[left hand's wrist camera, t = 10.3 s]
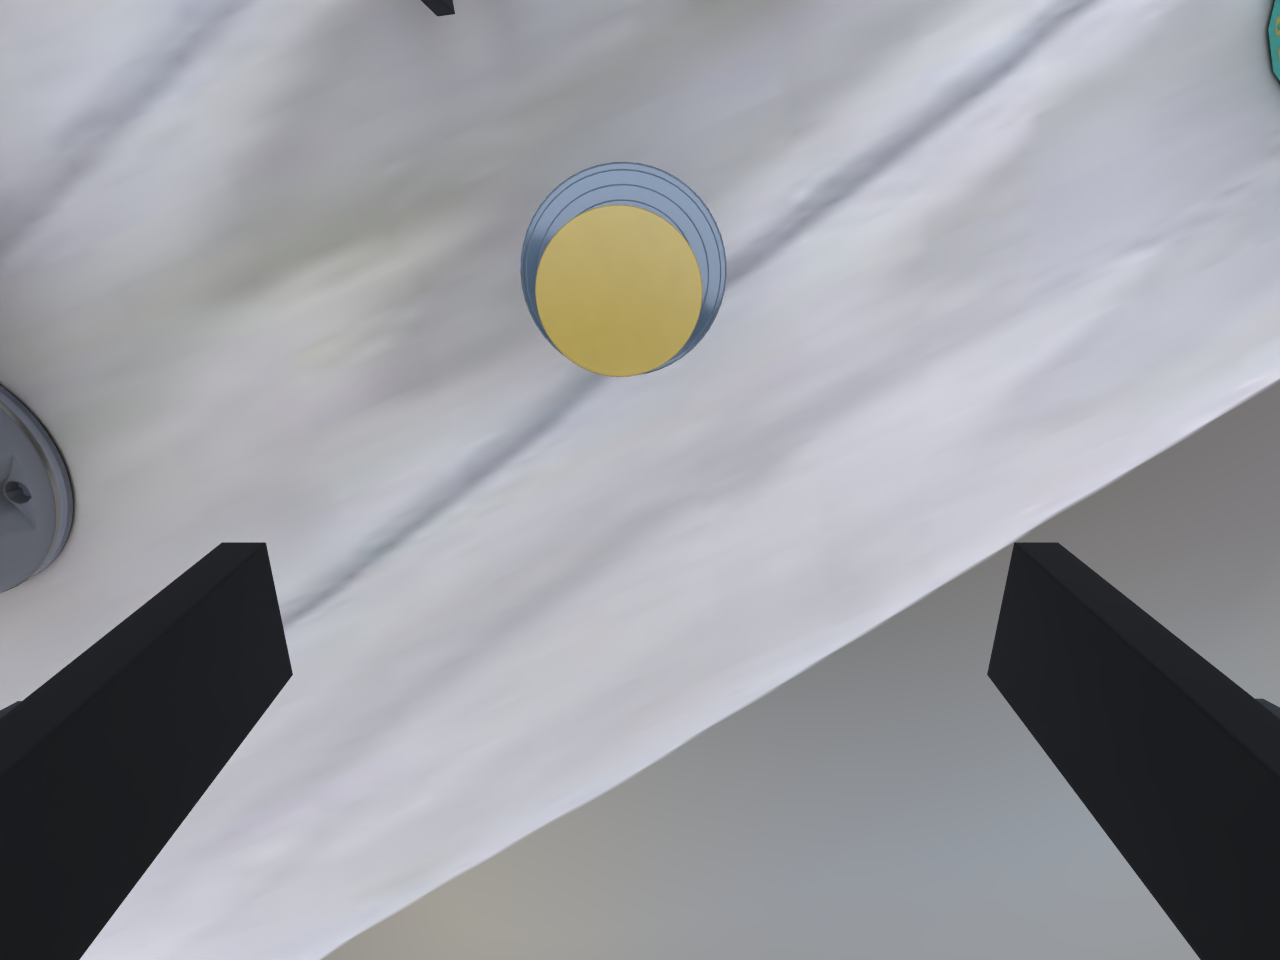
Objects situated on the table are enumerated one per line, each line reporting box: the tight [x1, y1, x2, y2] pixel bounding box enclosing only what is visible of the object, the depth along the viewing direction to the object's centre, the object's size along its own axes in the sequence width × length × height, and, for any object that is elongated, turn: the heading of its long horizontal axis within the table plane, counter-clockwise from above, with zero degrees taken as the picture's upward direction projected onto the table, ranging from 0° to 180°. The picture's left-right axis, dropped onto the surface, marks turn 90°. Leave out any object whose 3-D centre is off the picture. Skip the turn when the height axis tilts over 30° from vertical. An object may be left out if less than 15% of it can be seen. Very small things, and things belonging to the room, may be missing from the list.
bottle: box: [521, 162, 726, 375], centre depth 27 cm, size 6×6×23 cm
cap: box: [535, 205, 703, 377], centre depth 17 cm, size 4×4×2 cm
